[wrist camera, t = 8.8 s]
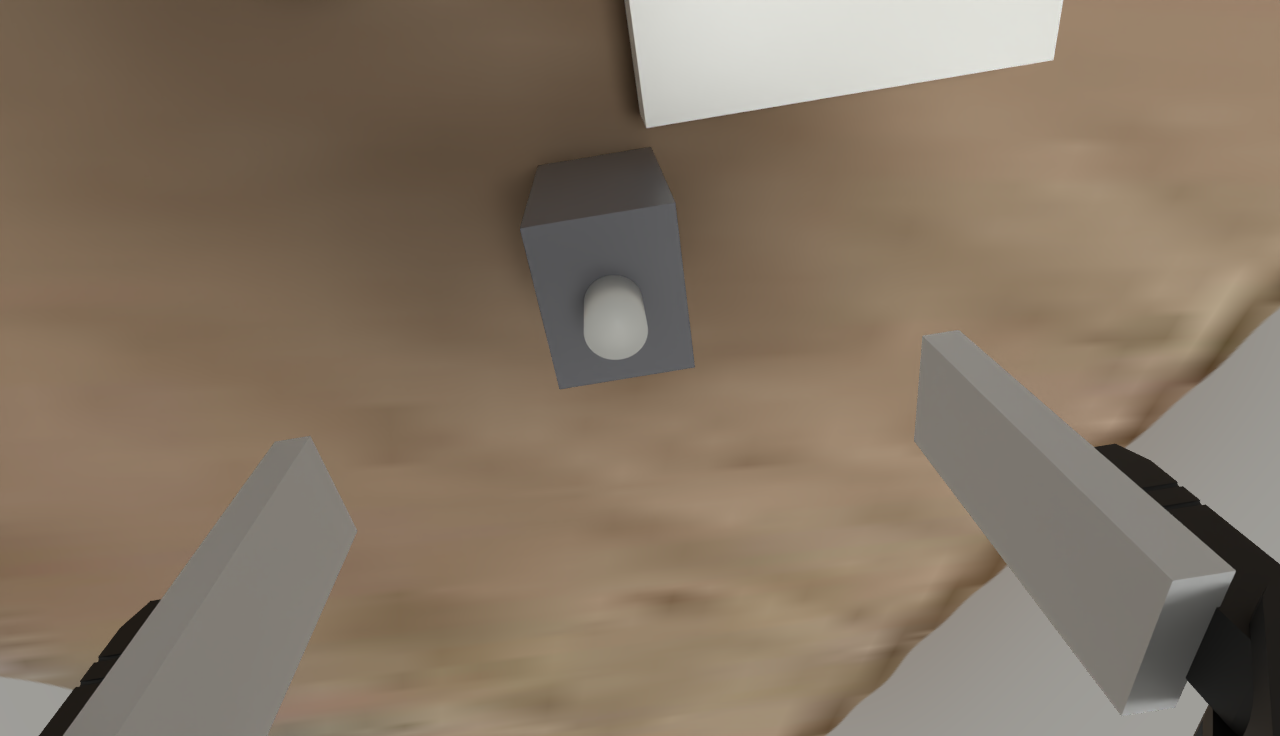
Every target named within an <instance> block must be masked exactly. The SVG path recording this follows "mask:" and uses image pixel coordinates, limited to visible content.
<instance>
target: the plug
mask: <svg viewBox="0 0 1280 736" xmlns="http://www.w3.org/2000/svg"><path fill="white" fill-rule="evenodd" d="M520 231H521V235H522V239H523V243H524V247H525V251H526V255H527V259H528V264H529V268H530V272H531V276H532V280H533V284H534V288H535V292H536V296H537V300H538V304H539V308H540V312H541V316H542V320H543V324H544V328H545V332H546V336H547V340H548V344H549V348H550V353H551V357H552V361H553V365H554V369H555V373H556V377H557V381H558V385H559V389H565V388H571V387H577V386H583V385H589V384H595V383H601V382H608V381H614V380H620V379H626V378H632V377H638V376H644V375H651V374H657V373H663V372H669V371H675V370H681V369H687V368H694V367H695V365H694V356H693V348H692V339H691V331H690V322H689V314H688V305H687V297H686V289H685V280H684V272H683V263H682V255H681V246H680V238H679V229H678V221H677V213H676V204H675V201H674V198H673V196H672V194H671V192H670V189H669V187H668V185H667V182H666V180H665V178H664V176H663V173H662V171H661V169H660V166H659V164H658V162H657V160H656V157H655V155H654V153H653V150H652V148H651V147H647V148H641V149H635V150H629V151H623V152H617V153H611V154H605V155H599V156H593V157H587V158H581V159H575V160H569V161H563V162H557V163H551V164H545V165H539V166H538V167H537V171H536V174H535V178H534V181H533V185H532V188H531V191H530V195H529V198H528V202H527V205H526V209H525V212H524V216H523V219H522V222H521V226H520Z"/></svg>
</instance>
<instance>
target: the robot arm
mask: <svg viewBox="0 0 1280 736" xmlns="http://www.w3.org/2000/svg"><path fill="white" fill-rule="evenodd" d="M914 441H915V443H916V444H917V445H918V447H919V448H920V449H921V451H922V452H923V453H924V455H925V456H926V457H927V459H928V460H929V461H930V463H931V464H932V465H933V467H934V468H935V469H936V471H937V472H938V473H939V475H940V476H941V477H942V479H943V480H944V481H945V483H946V484H947V485H948V487H949V488H950V489H951V491H952V492H953V493H954V495H955V496H956V497H957V499H958V500H959V501H960V503H961V504H962V505H963V506H964V508H965V509H966V510H967V512H968V513H969V514H970V516H971V517H972V518H973V520H974V521H975V522H976V524H977V525H978V526H979V528H980V529H981V530H982V532H983V533H984V534H985V536H986V537H987V538H988V540H989V541H990V542H991V544H992V545H993V546H994V548H995V549H996V550H997V552H998V553H999V554H1000V556H1001V557H1002V558H1003V560H1004V561H1005V562H1006V564H1007V565H1008V566H1009V568H1010V569H1011V570H1012V571H1013V573H1014V574H1015V575H1016V577H1017V578H1018V579H1019V581H1020V582H1021V583H1022V585H1023V586H1024V587H1025V589H1026V590H1027V591H1028V593H1029V594H1030V595H1031V597H1032V598H1033V599H1034V601H1035V602H1036V603H1037V605H1038V606H1039V607H1040V609H1041V610H1042V611H1043V613H1044V614H1045V615H1046V616H1047V618H1048V619H1049V620H1050V622H1051V623H1052V625H1053V626H1054V627H1055V628H1056V630H1057V631H1058V633H1059V634H1060V635H1061V636H1062V638H1063V639H1064V640H1065V642H1066V643H1067V644H1068V646H1069V647H1070V648H1071V650H1072V651H1073V652H1074V654H1075V655H1076V656H1077V658H1078V659H1079V660H1080V662H1081V663H1082V664H1083V666H1084V667H1085V668H1086V670H1087V671H1088V672H1089V674H1090V675H1091V676H1092V678H1093V679H1094V680H1095V681H1096V683H1097V684H1098V686H1099V687H1100V688H1101V690H1102V691H1103V692H1104V694H1105V695H1106V696H1107V698H1108V699H1109V700H1110V702H1111V703H1112V704H1113V705H1114V707H1115V708H1116V709H1117V711H1118V712H1119V713H1120V715H1121V716H1124V715H1131V714H1137V713H1144V712H1150V711H1156V710H1163V709H1169V708H1175V707H1176V704H1177V702H1178V700H1179V698H1180V696H1181V693H1182V691H1183V689H1184V686H1185V684H1186V682H1187V680H1188V682H1189V683H1190V684H1191V685H1192V686H1193V687H1194V688H1195V689H1196V690H1197V692H1198V693H1199V694H1200V695H1201V696H1202V697H1203V698H1204V700H1205V701H1206V702H1207V703H1208V704H1209V705H1208V707H1207V709H1206V711H1205V713H1204V715H1203V717H1202V719H1201V721H1200V723H1199V725H1198V727H1197V729H1196V732H1195V734H1194V736H1280V564H1279V563H1278V562H1276V561H1275V560H1274V559H1273V558H1271V557H1270V556H1269V555H1267V554H1266V553H1265V552H1264V551H1263V550H1261V549H1260V548H1259V547H1258V546H1256V545H1255V544H1254V543H1253V542H1251V541H1250V540H1249V539H1248V538H1246V537H1245V536H1244V535H1243V534H1241V533H1240V532H1239V531H1238V530H1236V529H1235V528H1234V527H1233V526H1231V525H1230V524H1229V523H1228V522H1227V521H1225V520H1224V519H1223V518H1222V517H1220V516H1219V515H1218V514H1217V513H1215V512H1214V511H1213V510H1212V509H1210V508H1209V507H1208V506H1207V505H1201V504H1200V500H1199V499H1198V498H1197V497H1195V496H1194V495H1193V494H1192V493H1190V492H1189V491H1188V490H1187V489H1186V488H1184V487H1183V486H1182V487H1179V486H1178V484H1177V481H1176V480H1174V479H1173V478H1172V477H1171V476H1169V475H1168V474H1167V473H1165V472H1164V471H1163V470H1162V469H1161V468H1159V467H1158V466H1157V465H1156V464H1154V463H1153V462H1152V461H1151V460H1149V459H1146V458H1144V457H1142V456H1140V455H1138V454H1136V453H1134V452H1132V451H1130V450H1128V449H1125V448H1123V447H1121V446H1119V445H1117V444H1111V445H1105V446H1098V447H1093V446H1092V445H1091V444H1090V443H1088V442H1087V441H1086V440H1085V439H1084V438H1083V437H1081V436H1080V435H1079V434H1078V433H1077V432H1076V431H1075V430H1073V429H1072V428H1071V427H1070V426H1069V425H1068V424H1066V423H1065V422H1064V421H1063V420H1062V419H1061V418H1060V417H1058V416H1057V415H1056V414H1055V413H1054V412H1053V411H1051V410H1050V409H1049V408H1048V407H1047V406H1046V405H1045V404H1043V403H1042V402H1041V401H1040V400H1039V399H1038V398H1037V397H1035V396H1034V395H1033V394H1032V393H1031V392H1030V391H1028V390H1027V389H1026V388H1025V387H1024V386H1023V385H1022V384H1020V383H1019V382H1018V381H1017V380H1016V379H1015V378H1013V377H1012V376H1011V375H1010V374H1009V373H1008V372H1007V371H1005V370H1004V369H1003V368H1002V367H1001V366H1000V365H999V364H997V363H996V362H995V361H994V360H993V359H992V358H990V357H989V356H988V355H987V354H986V353H985V352H984V351H982V350H981V349H980V348H979V347H978V346H977V345H975V344H974V343H973V342H972V341H971V340H970V339H969V338H967V337H966V336H965V335H964V334H963V333H962V332H960V331H959V330H955V331H949V332H943V333H937V334H931V335H925V336H923V337H922V349H921V362H920V374H919V386H918V399H917V411H916V423H915V436H914ZM356 533H357V529H356V527H355V525H354V523H353V521H352V519H351V517H350V515H349V513H348V511H347V509H346V507H345V505H344V503H343V501H342V499H341V497H340V495H339V493H338V491H337V489H336V487H335V485H334V483H333V481H332V479H331V477H330V475H329V473H328V471H327V469H326V467H325V465H324V463H323V461H322V459H321V457H320V455H319V453H318V451H317V449H316V447H315V444H314V442H313V440H312V438H311V436H307V437H301V438H295V439H288V440H282V441H276V442H274V444H273V445H272V446H271V448H270V449H269V451H268V452H267V453H266V455H265V456H264V458H263V459H262V460H261V462H260V463H259V464H258V466H257V467H256V469H255V470H254V471H253V473H252V474H251V476H250V477H249V478H248V480H247V481H246V483H245V484H244V485H243V487H242V488H241V489H240V491H239V492H238V494H237V495H236V496H235V498H234V499H233V501H232V502H231V503H230V505H229V506H228V507H227V509H226V510H225V512H224V513H223V514H222V516H221V517H220V519H219V520H218V521H217V523H216V524H215V525H214V527H213V528H212V530H211V531H210V532H209V534H208V535H207V537H206V538H205V539H204V541H203V542H202V544H201V545H200V546H199V548H198V549H197V550H196V552H195V553H194V555H193V556H192V557H191V559H190V560H189V562H188V563H187V564H186V566H185V567H184V568H183V570H182V571H181V573H180V574H179V575H178V577H177V578H176V580H175V581H174V582H173V584H172V585H171V587H170V588H169V589H168V591H167V592H166V593H165V595H164V596H163V598H162V599H161V600H154V601H150V602H149V603H148V604H147V605H146V606H145V607H143V608H142V609H141V610H140V611H139V612H138V613H137V614H135V615H134V616H133V617H132V618H131V619H130V620H129V621H128V622H126V623H125V624H124V625H123V626H122V627H121V628H120V629H119V630H118V632H117V633H116V634H115V636H114V637H113V638H112V640H111V641H110V642H109V643H108V645H107V646H106V647H105V649H104V650H103V651H102V653H101V654H100V655H99V657H98V658H99V661H98V662H96V663H93V665H92V666H91V667H90V669H89V670H88V671H87V673H86V674H85V675H84V677H83V678H82V679H81V681H80V682H81V685H80V687H75V689H74V690H73V691H72V693H71V694H70V695H69V697H68V698H67V699H66V701H65V702H64V703H63V704H62V706H61V707H60V708H59V710H58V711H57V713H56V714H55V715H54V716H53V718H52V719H51V720H50V722H49V723H48V724H47V726H46V727H45V728H44V730H43V731H42V733H41V734H40V735H39V736H267V735H268V733H269V730H270V728H271V726H272V724H273V721H274V719H275V717H276V714H277V712H278V710H279V708H280V705H281V703H282V701H283V699H284V696H285V694H286V692H287V690H288V687H289V685H290V683H291V680H292V678H293V676H294V674H295V671H296V669H297V667H298V665H299V662H300V660H301V658H302V655H303V653H304V651H305V649H306V646H307V644H308V642H309V640H310V637H311V635H312V633H313V630H314V628H315V626H316V624H317V621H318V619H319V617H320V615H321V612H322V610H323V608H324V606H325V603H326V601H327V599H328V596H329V594H330V592H331V590H332V587H333V585H334V583H335V581H336V578H337V576H338V574H339V571H340V569H341V567H342V565H343V562H344V560H345V558H346V556H347V553H348V551H349V549H350V546H351V544H352V542H353V540H354V537H355V535H356Z"/></svg>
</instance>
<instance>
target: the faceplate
mask: <svg viewBox="0 0 1280 736" xmlns="http://www.w3.org/2000/svg"><path fill="white" fill-rule="evenodd" d="M624 2H625V9H626V16H627V24H628V31H629V38H630V45H631V53H632V60H633V67H634V74H635V82H636V89H637V96H638V103H639V111H640V116H641V118H642V120H643V122H644V124H645V126H646V128H650V127H656V126H662V125H668V124H674V123H680V122H686V121H692V120H698V119H704V118H710V117H716V116H722V115H728V114H734V113H740V112H746V111H752V110H758V109H764V108H770V107H776V106H782V105H788V104H794V103H800V102H806V101H812V100H818V99H824V98H830V97H836V96H841V95H847V94H853V93H859V92H865V91H871V90H877V89H883V88H889V87H895V86H901V85H907V84H913V83H919V82H925V81H931V80H937V79H943V78H949V77H955V76H961V75H967V74H973V73H979V72H985V71H991V70H997V69H1003V68H1009V67H1015V66H1021V65H1027V64H1033V63H1039V62H1045V61H1051V60H1053V59H1054V53H1055V47H1056V41H1057V34H1058V28H1059V22H1060V16H1061V10H1062V4H1063V0H624Z"/></svg>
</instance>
